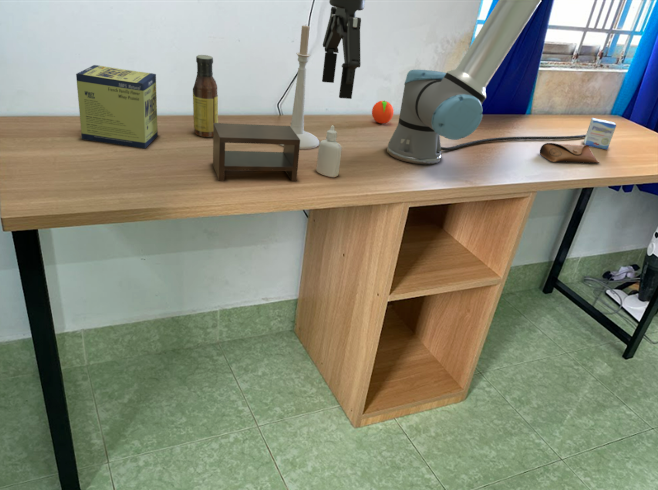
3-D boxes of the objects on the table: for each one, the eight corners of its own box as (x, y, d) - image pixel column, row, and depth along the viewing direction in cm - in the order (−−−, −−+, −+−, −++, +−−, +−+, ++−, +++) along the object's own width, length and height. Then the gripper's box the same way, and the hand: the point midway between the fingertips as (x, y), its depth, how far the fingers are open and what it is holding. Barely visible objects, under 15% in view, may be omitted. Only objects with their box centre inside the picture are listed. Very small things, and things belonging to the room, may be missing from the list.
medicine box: (584, 145, 210) (592, 120, 205) (583, 141, 213) (591, 117, 209) (607, 150, 209) (616, 125, 204) (606, 146, 212) (615, 121, 208)
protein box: (146, 149, 148) (143, 83, 140) (80, 140, 147) (74, 72, 139) (159, 136, 157) (157, 73, 149) (97, 127, 156) (91, 63, 148)
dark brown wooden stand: (286, 165, 152) (290, 126, 147) (296, 181, 145) (300, 139, 139) (212, 164, 146) (213, 122, 141) (218, 180, 138) (219, 137, 133)
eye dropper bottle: (329, 169, 155) (335, 121, 148) (340, 177, 151) (346, 129, 144) (314, 170, 152) (319, 122, 146) (324, 178, 149) (329, 129, 142)
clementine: (392, 128, 194) (396, 105, 190) (370, 125, 193) (374, 102, 189) (390, 121, 200) (394, 99, 197) (369, 118, 200) (373, 96, 196)
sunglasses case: (554, 162, 186) (553, 139, 185) (539, 166, 192) (539, 144, 192) (601, 163, 192) (601, 141, 192) (586, 167, 199) (585, 146, 198)
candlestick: (266, 143, 165) (273, 22, 149) (280, 130, 175) (288, 17, 160) (312, 152, 164) (325, 32, 148) (323, 139, 175) (336, 25, 159)
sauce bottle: (207, 129, 167) (208, 52, 157) (222, 136, 164) (224, 58, 154) (187, 132, 163) (187, 54, 152) (203, 139, 160) (203, 60, 149)
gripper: (316, -23, 138) (306, 74, 149) (350, -7, 119) (336, 104, 130) (347, -19, 141) (335, 77, 152) (386, -2, 122) (369, 106, 132)
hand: (336, 89), depth 141 cm, fingers open, 13 cm apart
